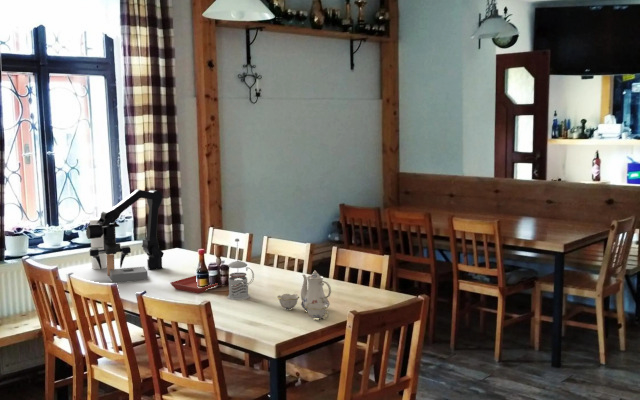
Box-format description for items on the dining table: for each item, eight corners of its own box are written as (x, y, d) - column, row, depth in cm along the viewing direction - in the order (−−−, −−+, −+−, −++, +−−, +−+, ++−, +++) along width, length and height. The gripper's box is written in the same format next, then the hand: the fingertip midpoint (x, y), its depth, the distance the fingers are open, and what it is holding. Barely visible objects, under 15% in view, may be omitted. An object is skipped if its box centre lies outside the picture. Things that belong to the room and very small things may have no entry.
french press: (224, 295, 286) (222, 237, 283) (250, 292, 290) (249, 235, 287) (229, 301, 277) (228, 241, 274) (257, 298, 281) (255, 239, 278)
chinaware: (270, 313, 264) (266, 273, 261) (301, 301, 276) (297, 262, 273) (320, 328, 245) (317, 285, 242) (351, 314, 256) (348, 272, 253)
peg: (114, 273, 329) (113, 253, 327) (115, 275, 325) (114, 255, 324) (107, 274, 327) (106, 254, 326) (107, 276, 324) (106, 255, 323)
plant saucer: (227, 286, 303) (227, 279, 302) (199, 295, 288) (199, 288, 287) (198, 281, 313) (197, 274, 312) (169, 290, 298) (169, 282, 297)
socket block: (144, 274, 326) (144, 266, 326) (147, 279, 315) (147, 271, 315) (110, 277, 320) (109, 269, 320) (112, 283, 309) (111, 274, 309)
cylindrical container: (109, 266, 347) (106, 218, 344) (103, 269, 339) (101, 220, 337) (95, 265, 347) (93, 218, 344) (89, 268, 340) (87, 220, 337)
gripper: (89, 240, 313) (91, 273, 315) (131, 237, 320) (132, 270, 322) (88, 237, 324) (90, 268, 325) (128, 234, 330) (130, 265, 332)
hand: (110, 268), depth 326 cm, fingers open, 9 cm apart
